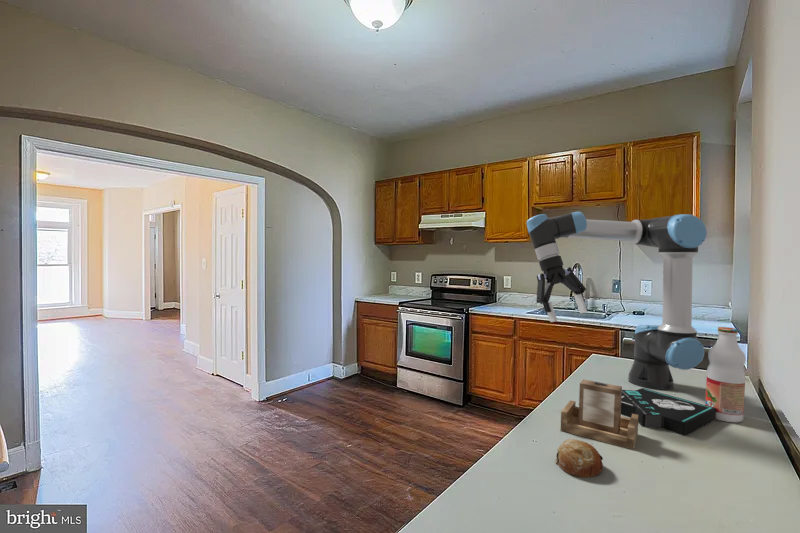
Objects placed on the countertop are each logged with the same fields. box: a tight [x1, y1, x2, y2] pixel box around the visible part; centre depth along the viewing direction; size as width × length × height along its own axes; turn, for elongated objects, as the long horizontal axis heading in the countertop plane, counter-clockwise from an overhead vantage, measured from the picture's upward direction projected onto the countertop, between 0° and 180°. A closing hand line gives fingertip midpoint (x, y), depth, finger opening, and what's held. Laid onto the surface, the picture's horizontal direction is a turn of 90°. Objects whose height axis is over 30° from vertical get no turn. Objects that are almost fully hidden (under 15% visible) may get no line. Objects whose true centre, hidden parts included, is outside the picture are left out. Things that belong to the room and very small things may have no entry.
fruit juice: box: [704, 326, 746, 424], centre depth 126 cm, size 9×9×28 cm
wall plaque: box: [621, 387, 717, 437], centre depth 128 cm, size 30×4×30 cm
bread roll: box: [554, 438, 604, 478], centre depth 95 cm, size 10×10×8 cm
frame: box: [578, 379, 623, 434], centre depth 114 cm, size 10×5×12 cm, turn 54°
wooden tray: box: [560, 400, 639, 450], centre depth 114 cm, size 18×11×6 cm, turn 55°
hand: (569, 317), depth 138 cm, fingers open, 13 cm apart
